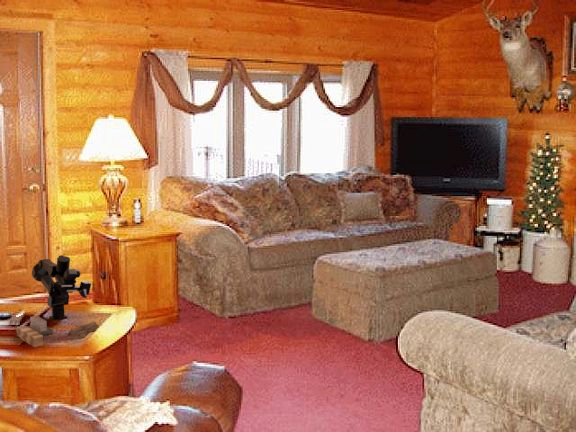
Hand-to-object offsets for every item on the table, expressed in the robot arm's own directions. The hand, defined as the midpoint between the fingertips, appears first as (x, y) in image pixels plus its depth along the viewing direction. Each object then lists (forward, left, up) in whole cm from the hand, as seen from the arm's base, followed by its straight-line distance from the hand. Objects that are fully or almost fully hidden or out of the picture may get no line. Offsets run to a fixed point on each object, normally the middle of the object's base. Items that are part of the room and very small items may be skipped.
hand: (76, 297), depth 320 cm
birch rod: (-2, -21, -16) cm, 27 cm away
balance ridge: (-11, -13, -16) cm, 23 cm away
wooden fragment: (0, +3, -16) cm, 17 cm away
